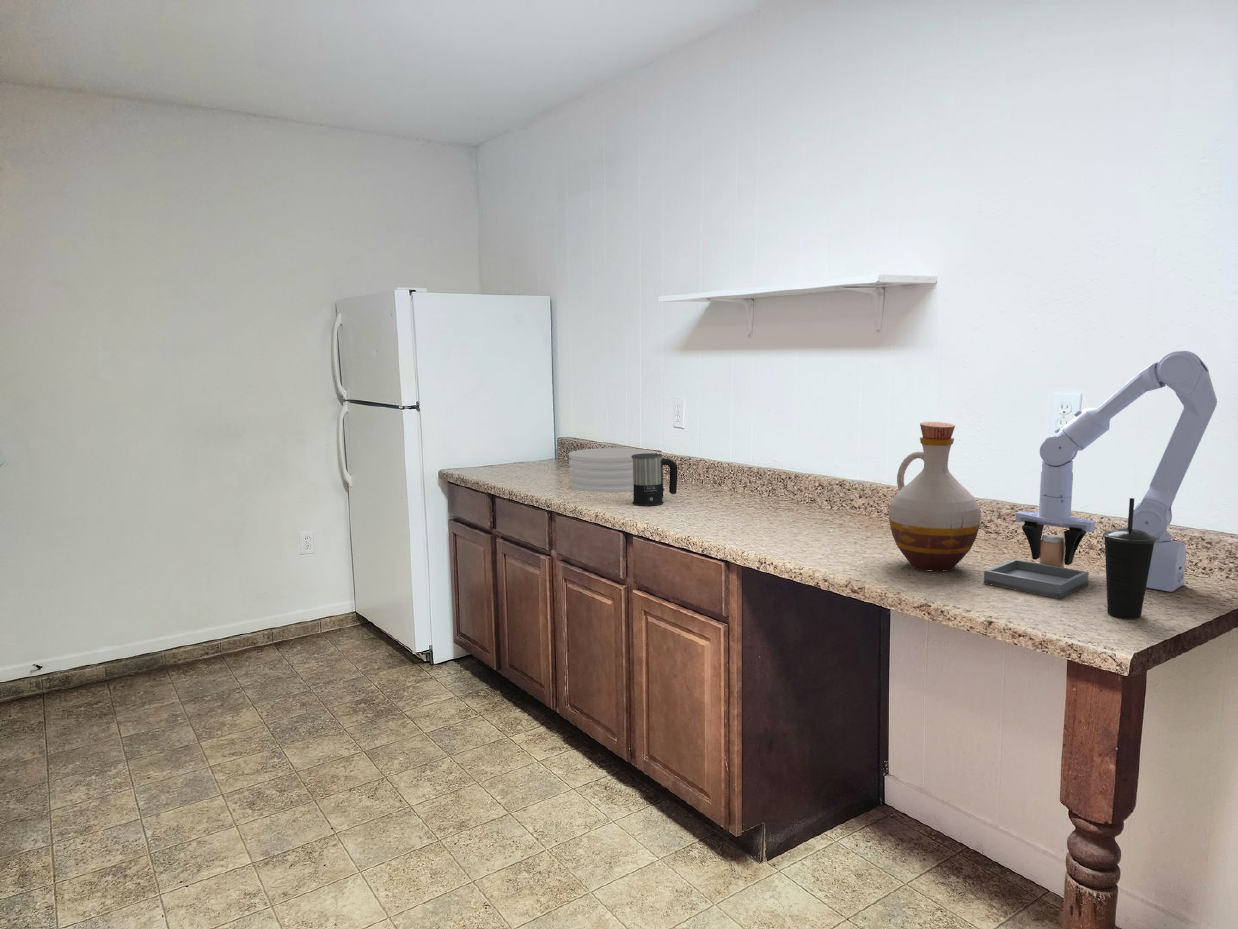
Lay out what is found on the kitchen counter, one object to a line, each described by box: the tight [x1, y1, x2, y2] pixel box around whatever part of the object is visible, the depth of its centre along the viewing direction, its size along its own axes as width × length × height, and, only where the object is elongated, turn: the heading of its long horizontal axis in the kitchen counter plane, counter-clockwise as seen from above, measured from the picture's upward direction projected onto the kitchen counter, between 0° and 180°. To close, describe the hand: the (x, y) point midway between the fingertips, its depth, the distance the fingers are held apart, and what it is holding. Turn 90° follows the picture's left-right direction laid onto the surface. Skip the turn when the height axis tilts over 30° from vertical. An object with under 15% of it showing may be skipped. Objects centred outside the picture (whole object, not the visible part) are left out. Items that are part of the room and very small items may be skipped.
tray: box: [983, 558, 1089, 599], centre depth 160 cm, size 14×13×2 cm
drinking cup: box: [1102, 497, 1157, 620], centre depth 140 cm, size 8×8×20 cm
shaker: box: [1039, 534, 1065, 568], centre depth 169 cm, size 4×4×7 cm
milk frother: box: [631, 452, 679, 507], centre depth 253 cm, size 14×16×15 cm
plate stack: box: [568, 447, 652, 493], centre depth 285 cm, size 28×28×12 cm
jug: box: [888, 421, 982, 572], centre depth 173 cm, size 20×18×30 cm
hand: (1051, 561), depth 169 cm, fingers open, 6 cm apart
